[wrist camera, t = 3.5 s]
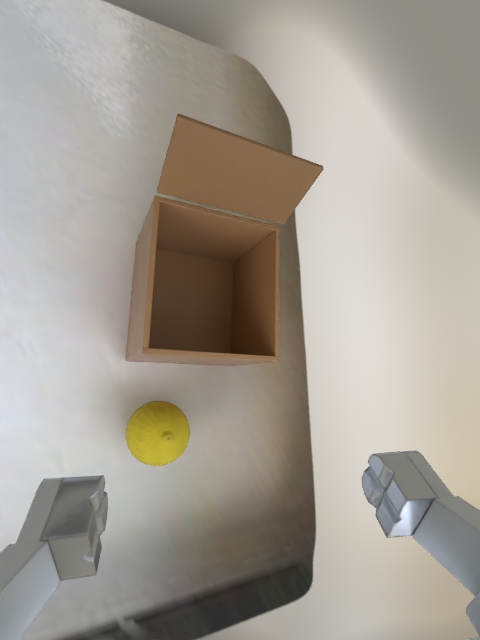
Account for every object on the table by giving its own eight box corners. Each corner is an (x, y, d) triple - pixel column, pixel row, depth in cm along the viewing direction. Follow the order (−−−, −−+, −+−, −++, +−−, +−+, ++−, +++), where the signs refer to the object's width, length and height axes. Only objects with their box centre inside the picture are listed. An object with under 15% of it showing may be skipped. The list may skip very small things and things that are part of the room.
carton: (125, 360, 34) (142, 353, 25) (136, 242, 36) (154, 195, 27) (232, 365, 39) (279, 361, 30) (235, 261, 41) (279, 226, 32)
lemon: (167, 460, 34) (189, 481, 27) (113, 449, 32) (121, 468, 25) (183, 406, 36) (208, 413, 29) (132, 392, 34) (146, 396, 27)
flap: (177, 116, 22) (177, 112, 22) (157, 192, 26) (157, 189, 27) (323, 169, 26) (322, 165, 27) (283, 225, 31) (282, 221, 32)
